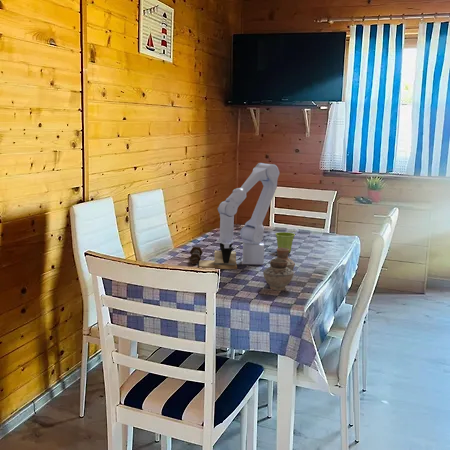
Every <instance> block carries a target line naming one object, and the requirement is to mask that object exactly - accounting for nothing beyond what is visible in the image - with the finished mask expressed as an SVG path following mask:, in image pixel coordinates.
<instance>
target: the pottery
mask: <svg viewBox="0 0 450 450" xmlns="http://www.w3.org/2000/svg"><path fill="white" fill-rule="evenodd" d="M289 253H290V252H289V249H288V248H278V247H277V248H276V254H277V257H275V258H271V260H270V261H269V267H267V268H265V269H263V271H262V272H263V274H262V275H263V278H264V281H266V283H267V284H268V285H269V289H270V290H273V291H284V290H286V287H287V286H288V285H289V284H290V283H291V281H292V280H293V277H294V274H295V272H294V271H293V270H294V268H295V266H296V263H295V262H294V260H292V259H291V258H289Z"/></svg>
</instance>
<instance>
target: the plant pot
mask: <svg viewBox="0 0 450 450" xmlns="http://www.w3.org/2000/svg"><path fill="white" fill-rule="evenodd" d="M274 235H275V237H276V244H277V248H288V249H289V253H291V252H292V247H293V241H294V238H295V236H296V234H295V233H293V232H285V231H284V232H283V231H282V232H281V231H279V232H275V234H274Z"/></svg>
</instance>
